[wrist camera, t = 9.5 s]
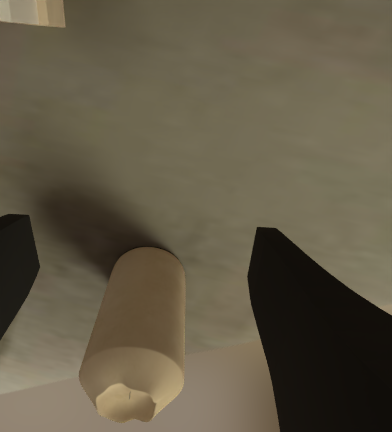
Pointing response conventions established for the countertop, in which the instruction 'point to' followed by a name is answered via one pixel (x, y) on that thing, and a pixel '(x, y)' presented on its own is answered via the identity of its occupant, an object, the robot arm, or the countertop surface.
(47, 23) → the tower base
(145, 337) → the candle
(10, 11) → the tower top
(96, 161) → the countertop surface
